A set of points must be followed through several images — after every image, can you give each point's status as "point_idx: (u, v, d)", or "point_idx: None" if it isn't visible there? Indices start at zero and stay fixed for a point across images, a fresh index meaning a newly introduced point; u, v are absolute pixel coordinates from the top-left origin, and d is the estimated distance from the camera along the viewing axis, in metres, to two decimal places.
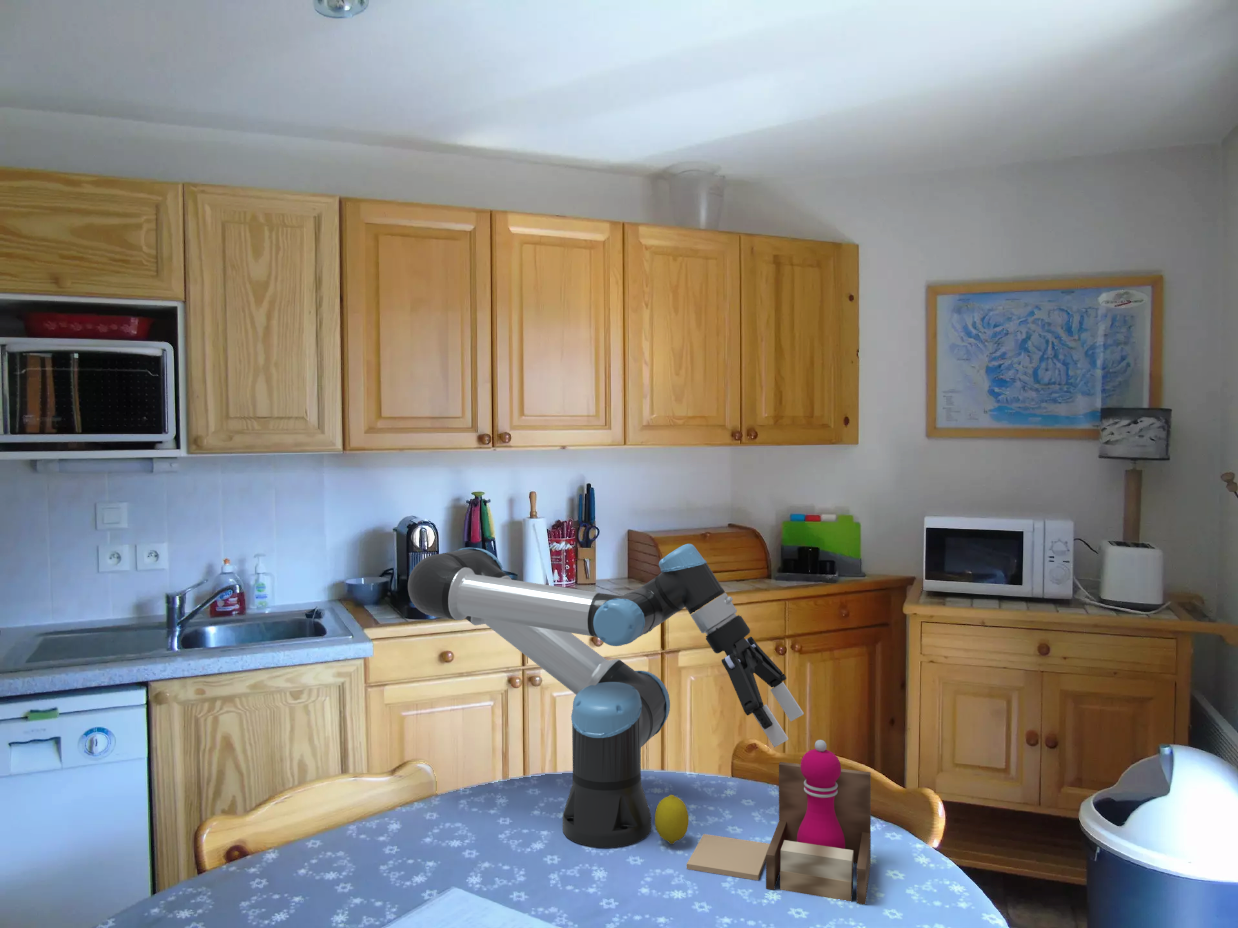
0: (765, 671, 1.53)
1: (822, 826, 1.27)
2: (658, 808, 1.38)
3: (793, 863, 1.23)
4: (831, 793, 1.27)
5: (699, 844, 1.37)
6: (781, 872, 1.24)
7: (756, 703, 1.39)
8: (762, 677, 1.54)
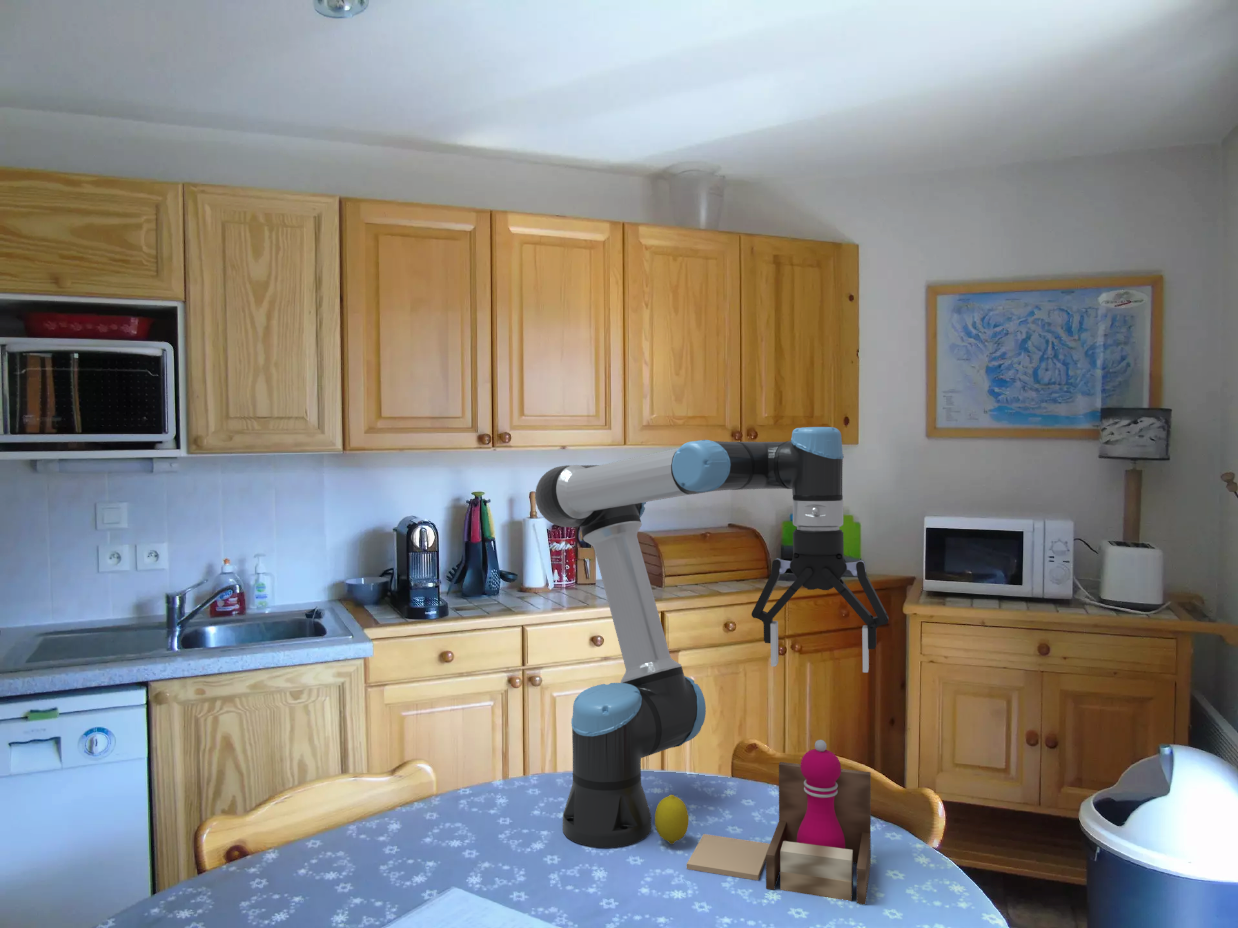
0: None
1: (822, 826, 1.27)
2: (658, 808, 1.38)
3: (793, 864, 1.23)
4: (831, 793, 1.27)
5: (699, 844, 1.37)
6: (781, 873, 1.24)
7: (753, 614, 1.32)
8: None
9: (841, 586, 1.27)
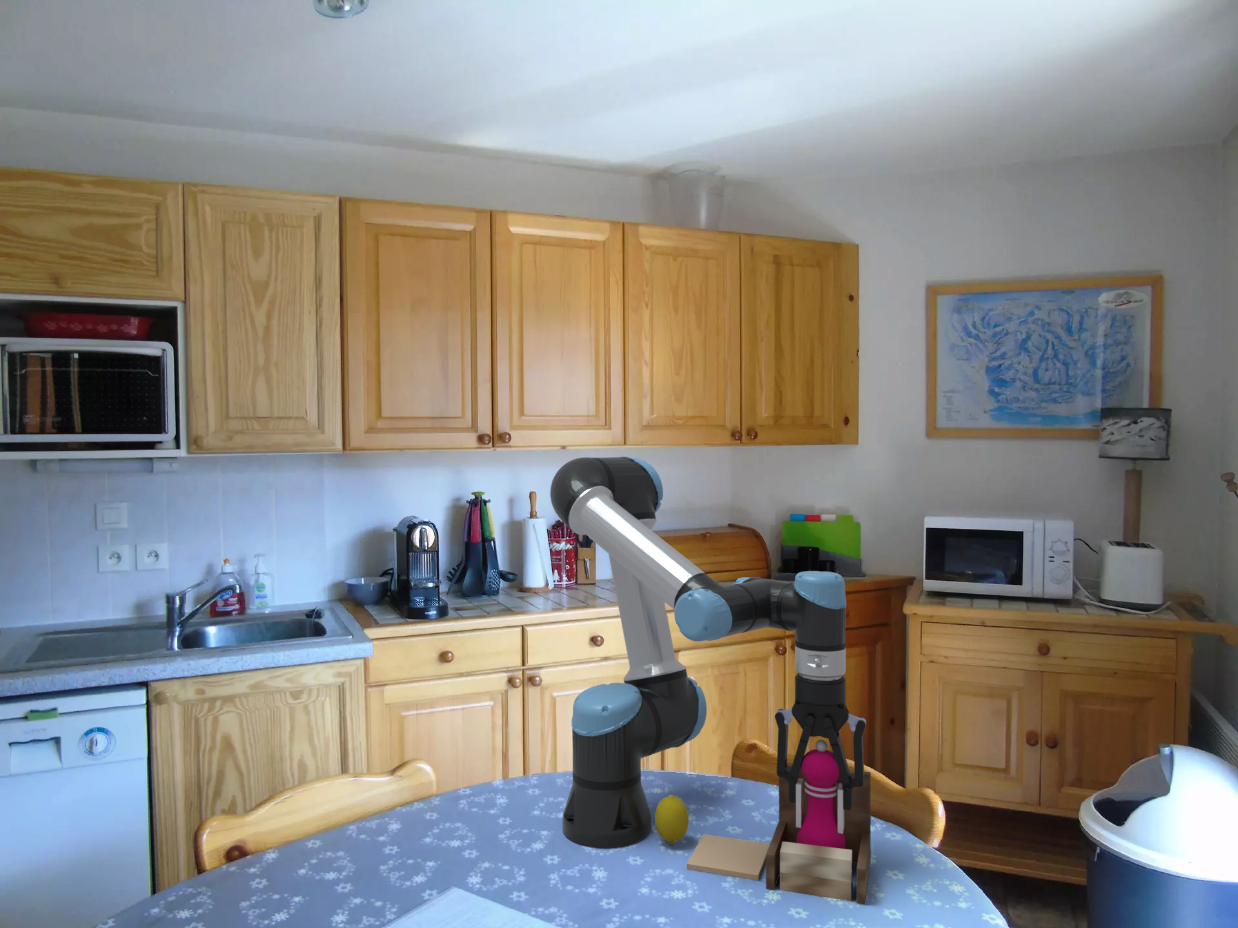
0: None
1: (823, 826, 1.27)
2: (658, 808, 1.38)
3: (793, 864, 1.23)
4: (832, 793, 1.27)
5: (699, 844, 1.37)
6: (781, 873, 1.24)
7: (778, 774, 1.30)
8: None
9: (835, 740, 1.27)
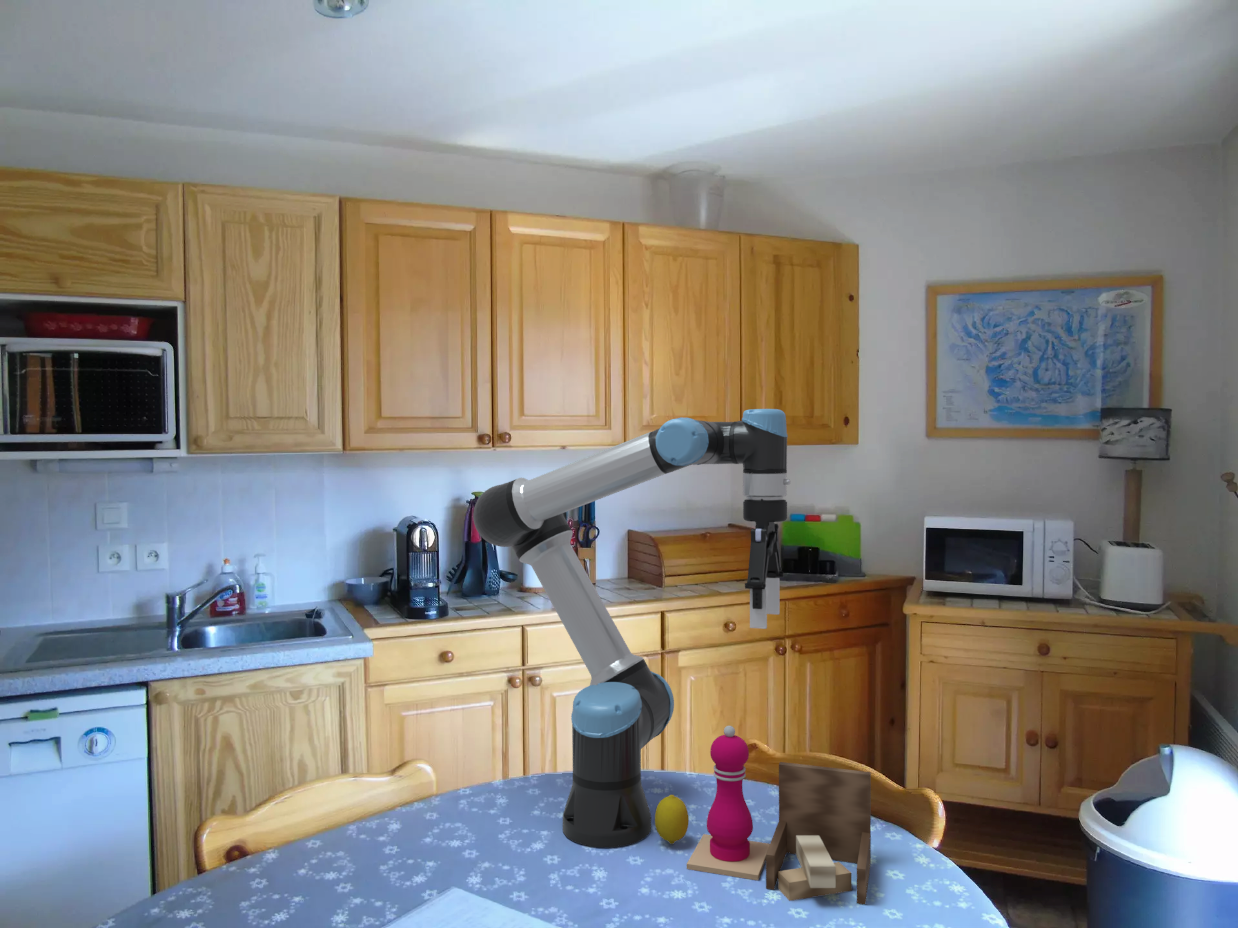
0: (772, 560, 1.52)
1: (745, 802, 1.33)
2: (658, 808, 1.38)
3: None
4: None
5: (699, 844, 1.37)
6: (790, 884, 1.21)
7: (762, 583, 1.38)
8: None
9: (778, 545, 1.50)
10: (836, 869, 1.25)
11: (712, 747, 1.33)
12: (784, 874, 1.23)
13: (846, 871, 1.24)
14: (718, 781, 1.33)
